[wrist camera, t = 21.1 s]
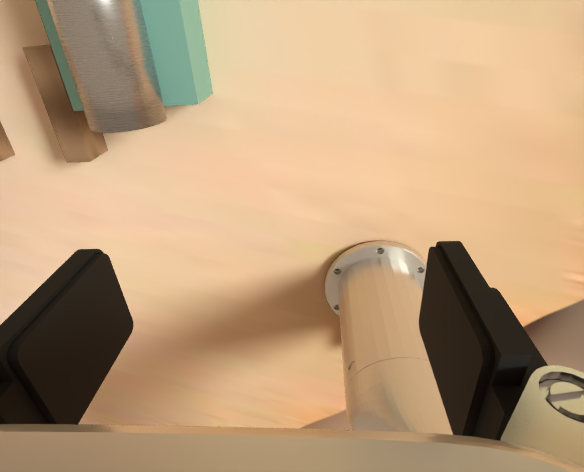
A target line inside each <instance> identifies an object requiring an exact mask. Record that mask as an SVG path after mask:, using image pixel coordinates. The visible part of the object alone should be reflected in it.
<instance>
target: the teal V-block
mask: <svg viewBox="0 0 584 472" xmlns="http://www.w3.org/2000/svg"><path fill="white" fill-rule="evenodd" d="M35 1H36V4H37V7H38V10H39V13H40V16H41V19H42V21H43V24H44V27H45V30H46V33H47V36H48V39H49V41H50V44H51V47H52V50H53V53H54V56H55V59H56V62H57V64H58V67H59V70H60V73H61V76H62V79H63V82H64V85H65V87H66V90H67V93H68V96H69V99H70V102H71V105H72V107H73V110H74V111H84V110H83V107H82V104H81V101H80V98H79V95H78V92H77V89H76V86H75V83H74V80H73V77H72V74H71V71H70V68H69V65H68V62H67V59H66V56H65V54H64V51H63V48H62V45H61V42H60V39H59V36H58V33H57V30H56V27H55V24H54V21H53V18H52V15H51V12H50V9H49V6H48V3H47V0H35ZM140 2H141V6H142V11H143V15H144V19H145V24H146V28H147V33H148V37H149V41H150V46H151V50H152V54H153V59H154V63H155V68H156V72H157V76H158V81H159V85H160V90H161V94H162V98H163V103H164V106H175V105H194V104H199V103H201V102H202V101H203V100H205V99H206V98H207V97H209V96H210V95H211V94H213V92H212V86H211V80H210V74H209V67H208V61H207V55H206V49H205V43H204V36H203V30H202V24H201V18H200V12H199V6H198V0H140Z"/></svg>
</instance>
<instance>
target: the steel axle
mask: <svg viewBox="0 0 584 472" xmlns="http://www.w3.org/2000/svg"><path fill="white" fill-rule="evenodd" d="M47 3H48V6H49V9H50V12H51V15H52V18H53V21H54V24H55V27H56V30H57V33H58V36H59V39H60V42H61V45H62V48H63V51H64V54H65V56H66V59H67V62H68V65H69V68H70V71H71V74H72V77H73V80H74V83H75V86H76V89H77V92H78V95H79V98H80V101H81V104H82V107H83V110H84V113H85V116H86V119H87V122H88V125H89V128H90V130H91V131H93V132H99V133H114V132H125V131H132V130H138V129H143V128H147V127H151V126H154V125H157V124H160V123H162V122H164V121H165V120H166V119H167V116H166V112H165V107H164V103H163V98H162V94H161V90H160V85H159V81H158V76H157V72H156V68H155V63H154V59H153V54H152V50H151V46H150V41H149V37H148V33H147V28H146V24H145V19H144V15H143V11H142V6H141V2H140V0H47Z"/></svg>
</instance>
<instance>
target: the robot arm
mask: <svg viewBox="0 0 584 472" xmlns="http://www.w3.org/2000/svg"><path fill="white" fill-rule="evenodd" d="M325 295H326V299H327V302H328V303H329V305H330V307H331V309H332V310H333V311H334V312H335V313H336V314H337V315H338V316H340V329H341V343H342V357H343V371H344V385H345V398H346V410H347V416H348V419H349V423H350V426H351V428H352V430H329V429H290V428H248V427H199V426H145V425H78V423H79V421H80V420H81V418H82V416H83V415H84V413H85V411H86V409H87V408H88V406H89V404H90V403H91V401H92V399H93V398H94V396H95V394H96V392H97V391H98V389H99V387H100V386H101V384H102V382H103V381H104V379H105V377H106V375H107V374H108V372H109V370H110V369H111V367H112V365H113V363H114V362H115V360H116V358H117V357H118V355H119V353H120V352H121V350H122V348H123V346H124V345H125V343H126V341H127V340H128V338H129V336H130V334H131V333H132V330H133V320H132V317H131V314H130V312H129V309H128V306H127V304H126V301H125V298H124V296H123V293H122V290H121V288H120V285H119V282H118V280H117V277H116V274H115V272H114V269H113V266H112V264H111V261H110V258H109V256H108V255H107V254H104V253H103V252H102V251H101V250H100V249H81V250H77V251H76V252H75V253H74V254H73V255H72V256H71V257H70V258H69V259H68V260H67V261H66V262H65V263H64V264H63V265H62V266H61V267H59V268H58V269H57V270H56V271H55V272H54V273H53V274H52V275H51V276H50V277H49V278H48V279H47V280H46V281H45V282H44V283H43V284H42V285H41V286H40V287H39V288H38V289H37V290H36V291H35V292H34V293H33V294H32V295H31V296H30V297H29V298H28V299H27V300H26V301H25V302H24V303H23V304H22V305H21V306H20V307H19V308H18V309H16V310H15V311H14V312H13V313H12V314H11V315H10V316H9V317H8V318H7V319H6V320H5V321H4V322H3V323H2V324H1V325H0V472H584V373H582V372H580V371H577V370H574V369H571V368H569V367H563V366H557V365H554V366H548V365H547V363H546V362H545V360H544V359H543V357H542V356H541V354H540V353H539V351H538V350H537V348H536V347H535V345H534V344H533V342H532V340H531V339H530V337H529V336H528V335H527V333H526V331H525V330H524V328H523V327H522V325H521V324H520V322H519V321H518V319H517V318H516V316H515V315H514V313H513V312H512V310H511V308H510V307H509V305H508V304H507V302H506V301H505V299H504V298H503V296H502V295H501V293H500V292H499V291H498V290H497V289H495V288H490V287H489V286H488V284H487V282H486V281H485V279H484V278H483V276H482V274H481V273H480V271H479V270H478V268H477V267H476V265H475V263H474V262H473V260H472V259H471V257H470V255H469V254H468V252H467V251H466V249H465V248H464V246H463V244H462V243H461V242H460V241H441V242H437V244H436V247H430V249H429V253H428V260H427V265H426V263H425V262H424V260H423V259H422V257H420V256H419V255H418V254H417V253H416V252H415V251H413V250H412V249H410V248H409V247H407V246H404V245H401V244H399V243H395V242H389V241H373V242H366V243H363V244H360V245H356V246H354V247H352V248H350V249H348V250H346V251H345V252H344V253H342V254H341V255H340V256H338V258H337V259H336V260H335V261H334V262H333V263H332V265H331V266H330V268H329V269H328V272H327V275H326V278H325Z"/></svg>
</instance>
